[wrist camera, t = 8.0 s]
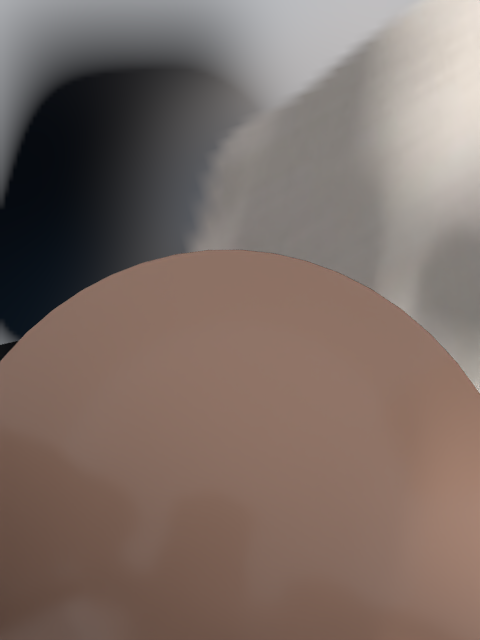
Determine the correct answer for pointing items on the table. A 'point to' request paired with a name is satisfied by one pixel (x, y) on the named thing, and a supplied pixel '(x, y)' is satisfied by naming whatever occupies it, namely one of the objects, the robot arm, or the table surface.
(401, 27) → the table surface
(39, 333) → the salmon pink cylinder
